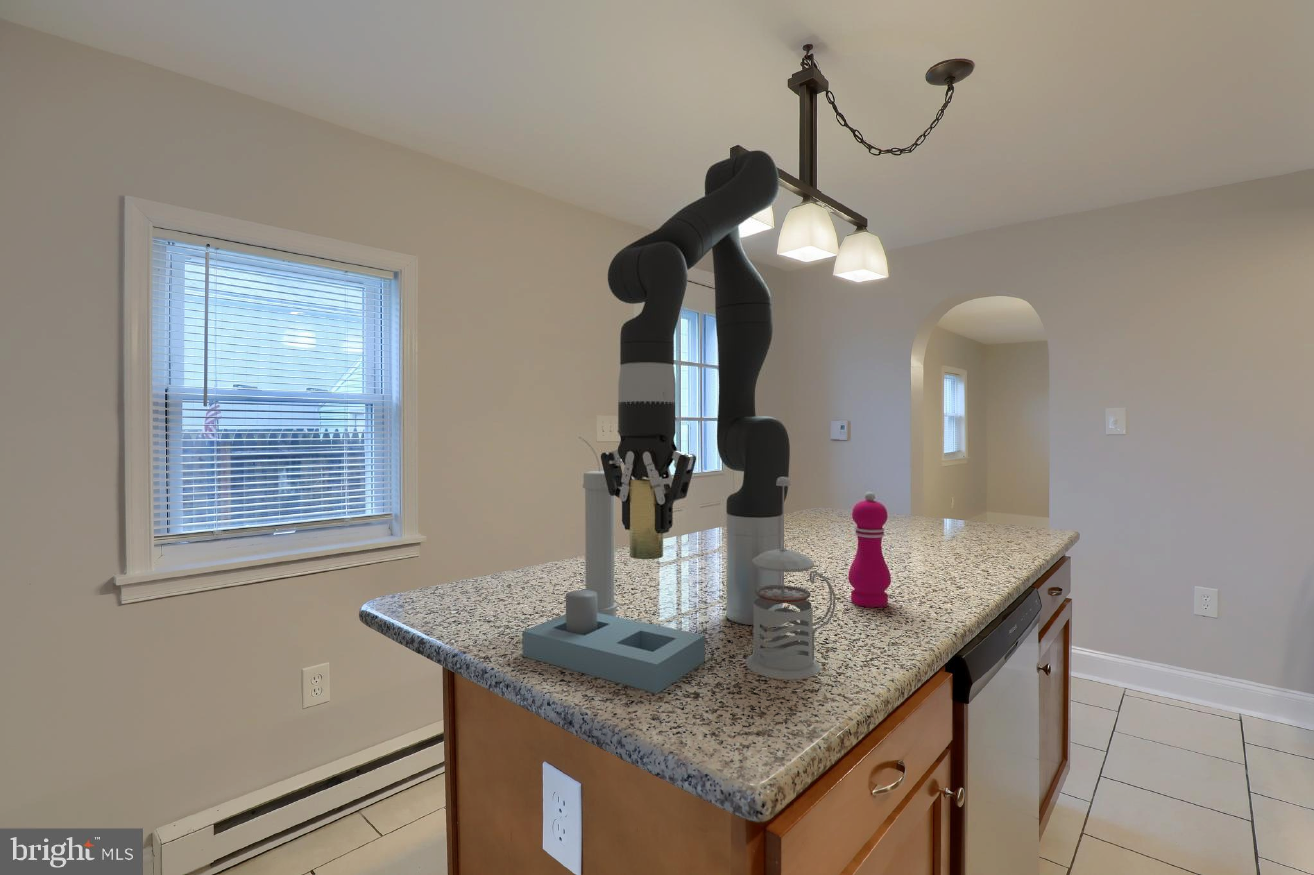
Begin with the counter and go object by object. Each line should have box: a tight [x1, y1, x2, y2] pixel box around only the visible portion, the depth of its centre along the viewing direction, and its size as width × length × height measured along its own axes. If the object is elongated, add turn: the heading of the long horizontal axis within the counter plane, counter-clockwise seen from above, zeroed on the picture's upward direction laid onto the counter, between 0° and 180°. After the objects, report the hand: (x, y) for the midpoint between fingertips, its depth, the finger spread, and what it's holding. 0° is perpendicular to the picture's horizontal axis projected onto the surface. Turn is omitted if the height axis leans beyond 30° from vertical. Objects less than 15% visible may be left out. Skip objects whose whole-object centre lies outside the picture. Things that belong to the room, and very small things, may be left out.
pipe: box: [578, 436, 618, 617], centre depth 99 cm, size 6×6×30 cm
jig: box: [522, 589, 706, 695], centre depth 83 cm, size 12×22×8 cm, turn 57°
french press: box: [745, 477, 836, 681], centre depth 81 cm, size 10×12×25 cm
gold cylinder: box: [629, 477, 664, 560], centre depth 79 cm, size 4×4×10 cm
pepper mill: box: [847, 491, 892, 608], centre depth 109 cm, size 7×7×20 cm
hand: (646, 530), depth 80 cm, fingers closed on gold cylinder, 4 cm apart
